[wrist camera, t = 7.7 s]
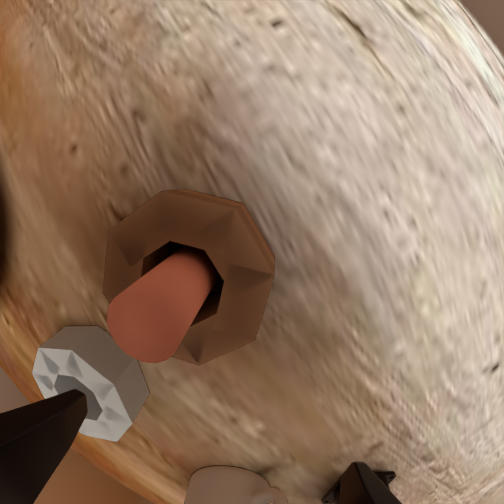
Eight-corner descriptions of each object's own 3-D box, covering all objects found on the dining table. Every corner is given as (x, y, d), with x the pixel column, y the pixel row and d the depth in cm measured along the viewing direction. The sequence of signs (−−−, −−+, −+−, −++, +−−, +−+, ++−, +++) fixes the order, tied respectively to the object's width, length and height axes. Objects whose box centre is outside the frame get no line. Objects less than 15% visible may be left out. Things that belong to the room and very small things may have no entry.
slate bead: (159, 415, 22) (144, 446, 18) (81, 405, 23) (62, 429, 19) (125, 325, 20) (100, 351, 17) (46, 325, 21) (19, 345, 18)
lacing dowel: (216, 292, 19) (174, 372, 11) (172, 279, 19) (106, 347, 11) (226, 248, 19) (185, 305, 10) (180, 236, 19) (109, 280, 10)
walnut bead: (249, 343, 20) (243, 377, 16) (128, 306, 20) (101, 331, 16) (286, 214, 18) (289, 223, 14) (147, 180, 18) (117, 181, 14)
